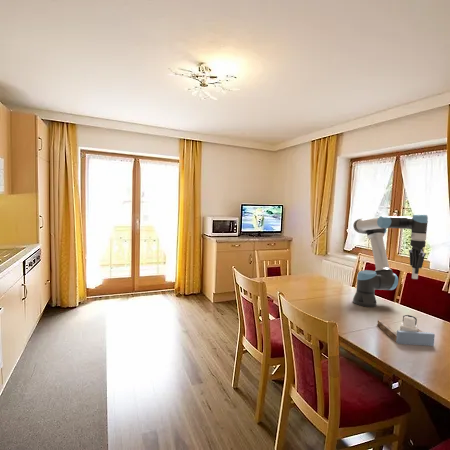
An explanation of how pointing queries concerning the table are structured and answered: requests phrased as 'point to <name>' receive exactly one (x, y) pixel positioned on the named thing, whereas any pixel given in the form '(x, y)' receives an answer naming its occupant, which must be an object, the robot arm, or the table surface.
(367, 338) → the table surface
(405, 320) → the medicine bottle
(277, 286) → the table surface
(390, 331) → the guide channel
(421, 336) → the end stop
